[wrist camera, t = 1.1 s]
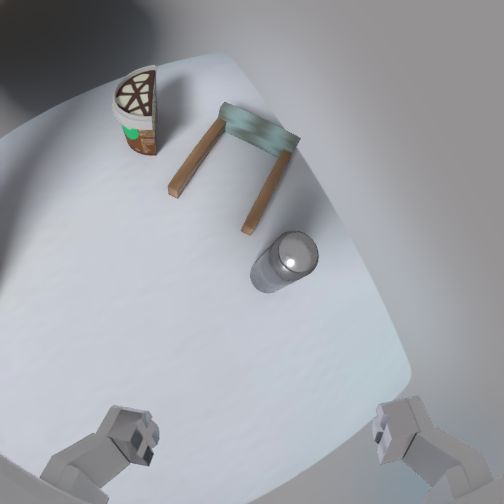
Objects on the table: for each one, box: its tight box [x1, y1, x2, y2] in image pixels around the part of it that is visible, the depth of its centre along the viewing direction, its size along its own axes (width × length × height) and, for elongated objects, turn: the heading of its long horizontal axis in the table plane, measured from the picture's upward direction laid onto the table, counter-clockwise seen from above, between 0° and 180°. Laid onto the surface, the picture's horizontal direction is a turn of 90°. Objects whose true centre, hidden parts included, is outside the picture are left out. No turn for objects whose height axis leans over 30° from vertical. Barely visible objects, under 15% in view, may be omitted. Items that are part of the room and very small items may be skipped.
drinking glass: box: [250, 231, 319, 293], centre depth 34 cm, size 5×5×12 cm
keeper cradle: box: [168, 102, 301, 235], centre depth 40 cm, size 13×16×5 cm
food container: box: [112, 65, 157, 155], centre depth 36 cm, size 12×6×10 cm, turn 9°
